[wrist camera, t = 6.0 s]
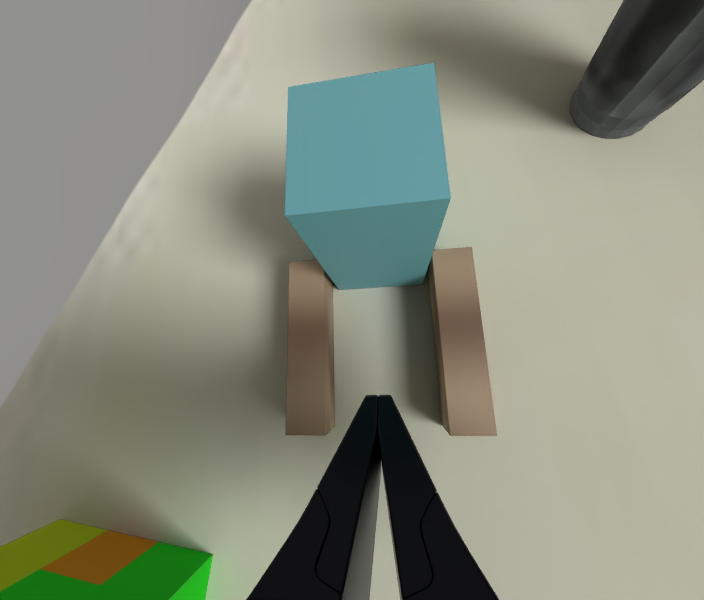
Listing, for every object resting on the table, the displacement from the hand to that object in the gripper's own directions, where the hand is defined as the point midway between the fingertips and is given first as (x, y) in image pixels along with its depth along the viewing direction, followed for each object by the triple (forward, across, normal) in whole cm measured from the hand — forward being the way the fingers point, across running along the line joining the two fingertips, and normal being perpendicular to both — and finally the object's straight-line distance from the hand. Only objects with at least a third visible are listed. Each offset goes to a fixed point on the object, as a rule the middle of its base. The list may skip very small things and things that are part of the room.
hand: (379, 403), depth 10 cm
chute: (+6, 0, +3) cm, 7 cm away
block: (+10, 0, -2) cm, 11 cm away
